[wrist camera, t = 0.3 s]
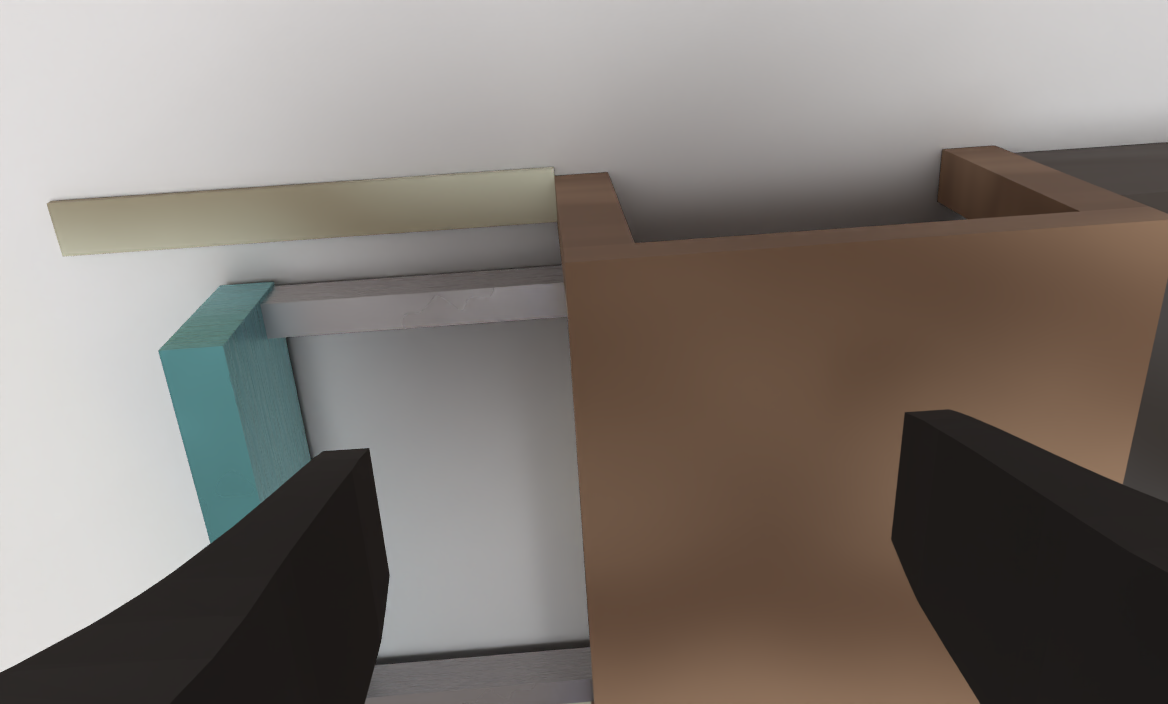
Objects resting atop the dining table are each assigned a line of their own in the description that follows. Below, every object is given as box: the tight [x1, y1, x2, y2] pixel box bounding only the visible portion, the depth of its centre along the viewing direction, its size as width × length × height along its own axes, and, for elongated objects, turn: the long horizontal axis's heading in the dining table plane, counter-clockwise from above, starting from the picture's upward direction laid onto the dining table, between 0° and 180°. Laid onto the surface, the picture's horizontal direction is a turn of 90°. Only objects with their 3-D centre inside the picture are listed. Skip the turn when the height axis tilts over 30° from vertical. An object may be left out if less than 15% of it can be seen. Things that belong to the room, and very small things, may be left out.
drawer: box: [159, 265, 594, 704], centre depth 21 cm, size 12×19×4 cm, turn 93°
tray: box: [47, 143, 1168, 704], centre depth 20 cm, size 16×32×6 cm, turn 93°
